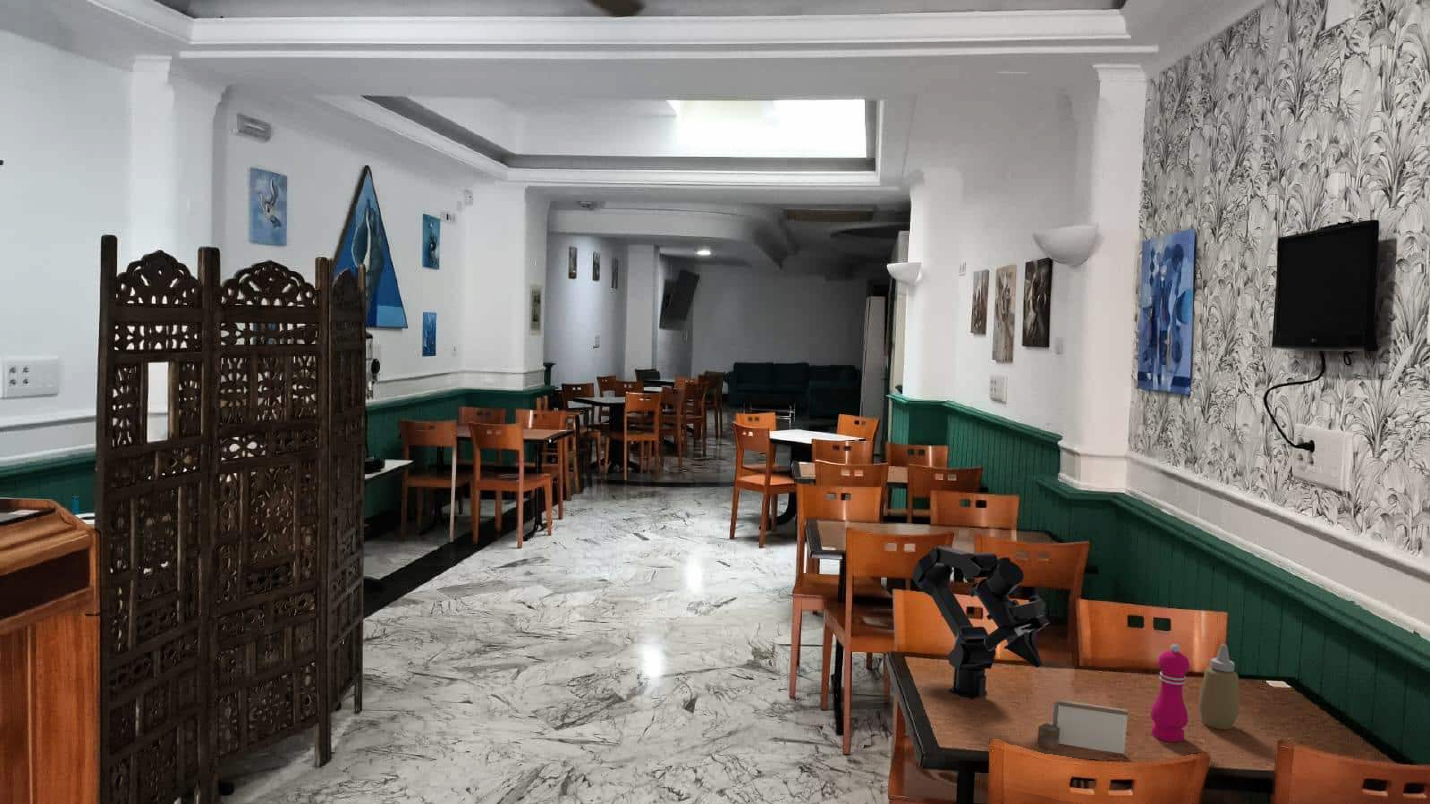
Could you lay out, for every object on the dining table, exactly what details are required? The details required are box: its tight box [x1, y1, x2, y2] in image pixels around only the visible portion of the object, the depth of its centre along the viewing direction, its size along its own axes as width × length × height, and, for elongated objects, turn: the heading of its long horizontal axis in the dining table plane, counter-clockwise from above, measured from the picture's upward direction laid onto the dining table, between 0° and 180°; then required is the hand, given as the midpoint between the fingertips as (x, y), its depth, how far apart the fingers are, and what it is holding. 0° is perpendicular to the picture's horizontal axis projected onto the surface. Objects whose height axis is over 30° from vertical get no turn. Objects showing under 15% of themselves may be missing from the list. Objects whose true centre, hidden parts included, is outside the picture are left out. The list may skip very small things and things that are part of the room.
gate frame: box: [1036, 722, 1060, 751], centre depth 207 cm, size 3×19×4 cm, turn 132°
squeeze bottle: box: [1198, 643, 1240, 730], centre depth 217 cm, size 8×8×18 cm
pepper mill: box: [1150, 643, 1190, 743], centre depth 209 cm, size 7×7×20 cm
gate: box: [1052, 699, 1129, 754], centre depth 201 cm, size 1×14×9 cm, turn 74°
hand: (1039, 666), depth 213 cm, fingers closed
